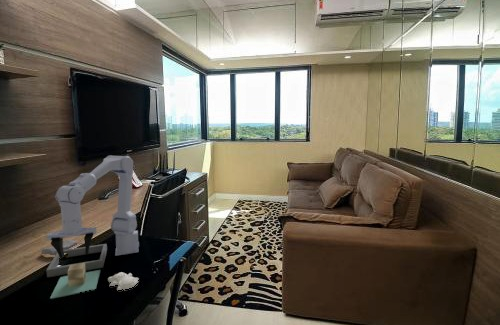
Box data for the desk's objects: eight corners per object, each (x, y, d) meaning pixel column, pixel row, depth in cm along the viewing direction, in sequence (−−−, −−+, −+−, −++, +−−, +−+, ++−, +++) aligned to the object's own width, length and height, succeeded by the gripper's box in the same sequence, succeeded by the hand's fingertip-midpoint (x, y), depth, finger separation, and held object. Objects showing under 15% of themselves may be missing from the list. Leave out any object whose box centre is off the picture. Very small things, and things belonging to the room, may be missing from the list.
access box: (107, 249, 119) (106, 243, 119) (103, 267, 104) (102, 260, 104) (58, 257, 112) (58, 250, 111) (47, 277, 97) (46, 270, 96)
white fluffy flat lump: (126, 272, 102) (126, 265, 101) (143, 283, 94) (142, 276, 94) (103, 282, 95) (102, 275, 94) (119, 295, 87) (118, 287, 87)
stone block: (39, 260, 112) (56, 259, 110) (37, 250, 112) (54, 248, 110) (65, 249, 124) (81, 248, 121) (63, 239, 124) (79, 238, 121)
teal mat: (100, 270, 102) (100, 269, 102) (95, 289, 90) (95, 288, 90) (60, 277, 97) (60, 276, 97) (50, 299, 85) (50, 297, 85)
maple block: (86, 277, 96) (84, 262, 96) (83, 284, 92) (82, 268, 92) (71, 280, 95) (70, 264, 94) (68, 287, 91) (67, 271, 90)
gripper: (42, 226, 84) (46, 264, 86) (93, 220, 90) (96, 256, 92) (49, 219, 91) (52, 255, 93) (96, 213, 97) (99, 248, 99)
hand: (74, 255), depth 93 cm, fingers open, 7 cm apart
